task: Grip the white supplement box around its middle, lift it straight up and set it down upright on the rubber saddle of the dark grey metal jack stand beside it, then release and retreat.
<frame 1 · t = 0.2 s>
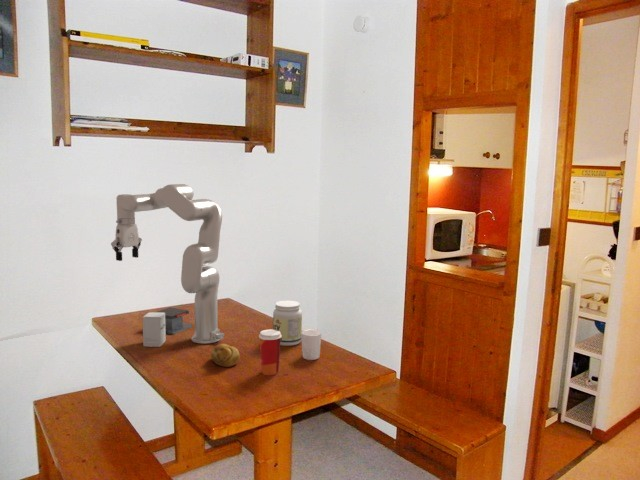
hand: (127, 258, 240), 31 cm above the table, fingers open, 9 cm apart
coffee cup: (269, 372, 190), on the table
white cup: (310, 357, 206), on the table
jack stand: (171, 328, 238), on the table
supplement tub: (287, 342, 223), on the table
bread roll: (224, 363, 199), on the table
supplement box: (154, 344, 218), on the table
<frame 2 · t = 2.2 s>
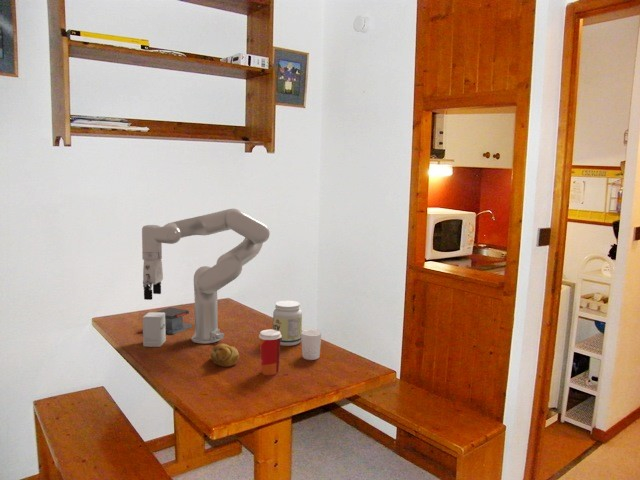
hand: (152, 296, 215), 20 cm above the table, fingers open, 9 cm apart
nothing on the table moved.
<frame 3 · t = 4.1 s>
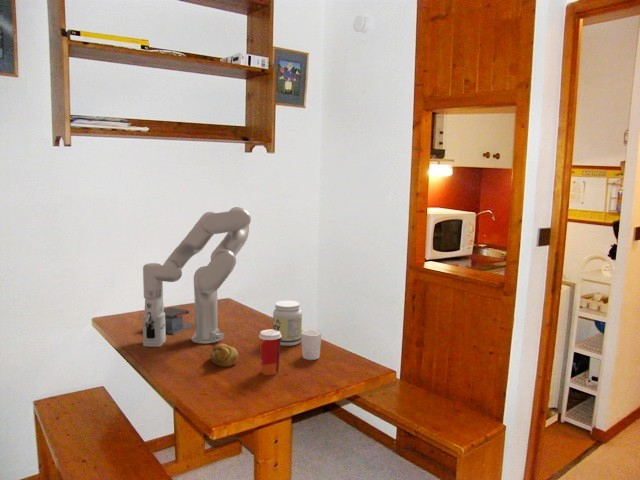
hand: (154, 334, 217), 4 cm above the table, fingers closed on supplement box, 7 cm apart
supplement box: (154, 344, 218), on the table, touching gripper
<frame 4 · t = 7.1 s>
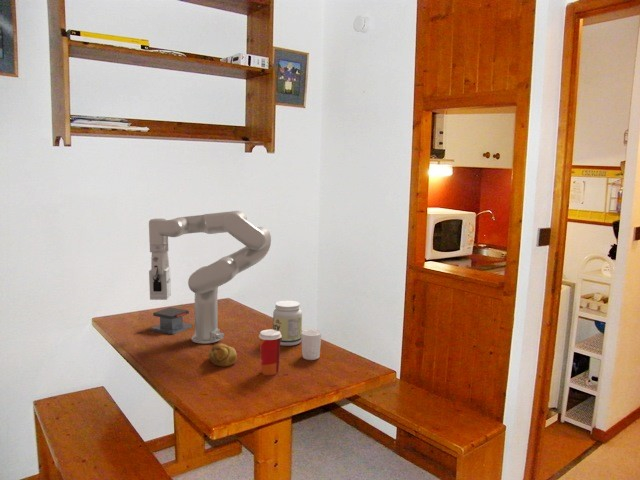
hand: (160, 288, 223), 22 cm above the table, fingers closed on supplement box, 7 cm apart
supplement box: (160, 298, 223), point 17 cm above the table, touching gripper
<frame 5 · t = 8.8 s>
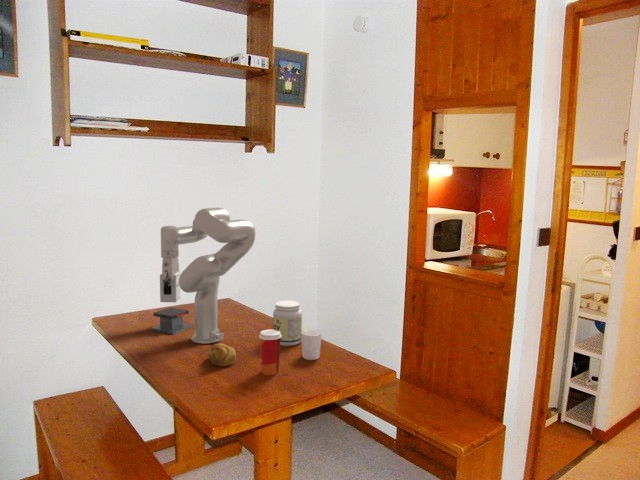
hand: (170, 292, 236), 17 cm above the table, fingers closed on supplement box, 7 cm apart
supplement box: (170, 300, 237), point 13 cm above the table, touching gripper
when the fingers open (13 cm above the table, at t = 10.0 s): supplement box drops 1 cm, resting on jack stand.
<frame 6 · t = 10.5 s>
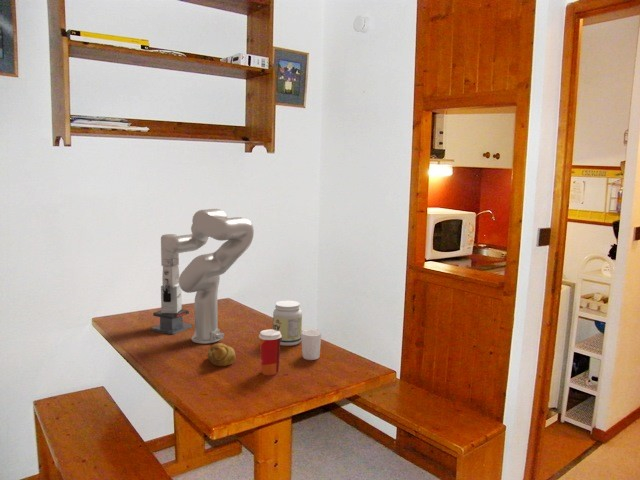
hand: (170, 299, 236), 14 cm above the table, fingers open, 9 cm apart
supplement box: (171, 311, 238), point 8 cm above the table, touching jack stand
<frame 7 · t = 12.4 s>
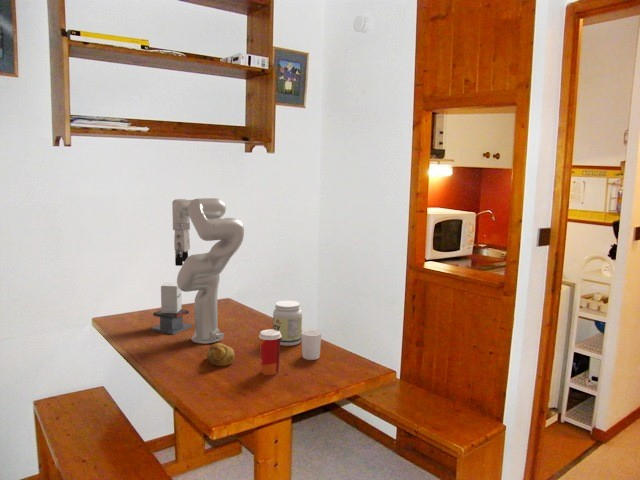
hand: (181, 263, 240), 29 cm above the table, fingers open, 9 cm apart
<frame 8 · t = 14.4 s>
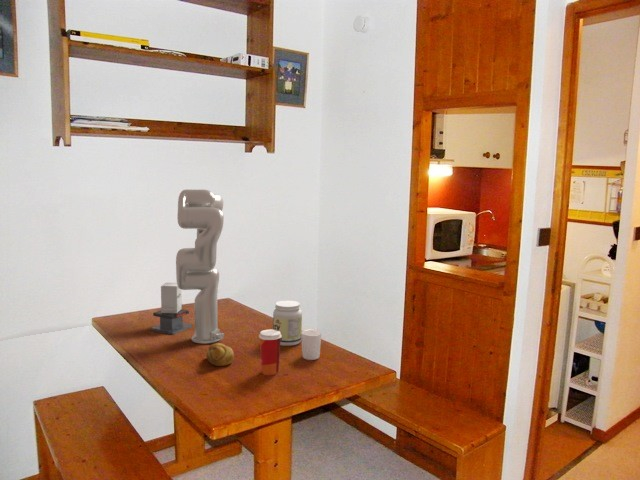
hand: (204, 257, 251), 30 cm above the table, fingers open, 9 cm apart
at the end: supplement box inside the target area on the jack stand (0.4 cm from its centre), point 7.8 cm above the jack stand's base; supplement box tilted 0°; the gripper is holding nothing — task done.
